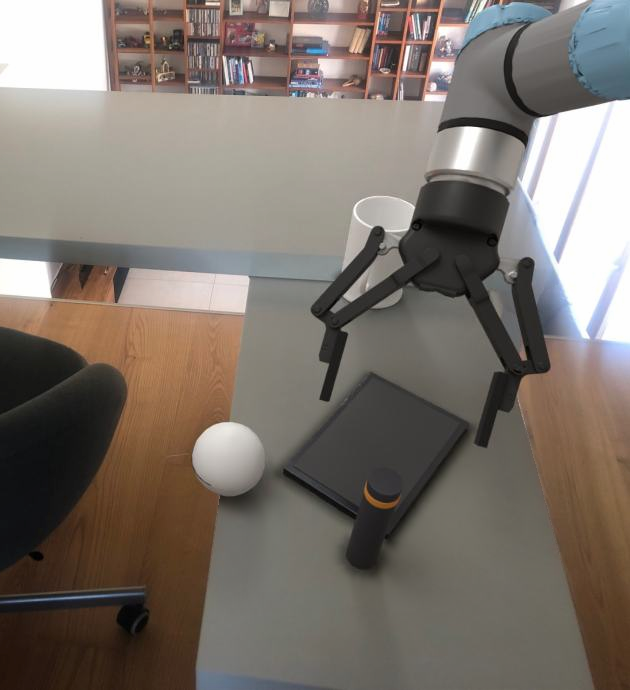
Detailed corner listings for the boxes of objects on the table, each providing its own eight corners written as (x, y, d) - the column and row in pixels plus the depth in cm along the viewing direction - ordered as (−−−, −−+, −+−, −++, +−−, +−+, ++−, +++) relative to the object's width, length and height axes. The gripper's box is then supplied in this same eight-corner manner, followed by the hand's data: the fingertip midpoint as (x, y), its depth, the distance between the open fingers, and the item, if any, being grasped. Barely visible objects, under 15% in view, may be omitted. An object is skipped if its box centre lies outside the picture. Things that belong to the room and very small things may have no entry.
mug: (381, 332, 87) (401, 254, 79) (318, 309, 91) (330, 233, 82) (410, 281, 94) (431, 205, 86) (350, 262, 98) (365, 187, 89)
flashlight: (382, 554, 65) (410, 479, 57) (367, 575, 64) (393, 502, 55) (355, 536, 67) (378, 460, 58) (339, 557, 65) (361, 482, 57)
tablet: (467, 428, 76) (469, 422, 75) (386, 540, 66) (388, 534, 65) (369, 377, 82) (371, 370, 81) (282, 473, 72) (283, 467, 71)
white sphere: (267, 457, 74) (272, 411, 68) (258, 516, 68) (263, 472, 63) (175, 442, 75) (173, 397, 70) (159, 499, 70) (157, 455, 65)
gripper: (609, 230, 61) (541, 461, 61) (329, 176, 68) (271, 383, 69) (639, 209, 54) (562, 471, 54) (322, 151, 61) (258, 383, 62)
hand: (399, 422), depth 61 cm, fingers open, 13 cm apart
